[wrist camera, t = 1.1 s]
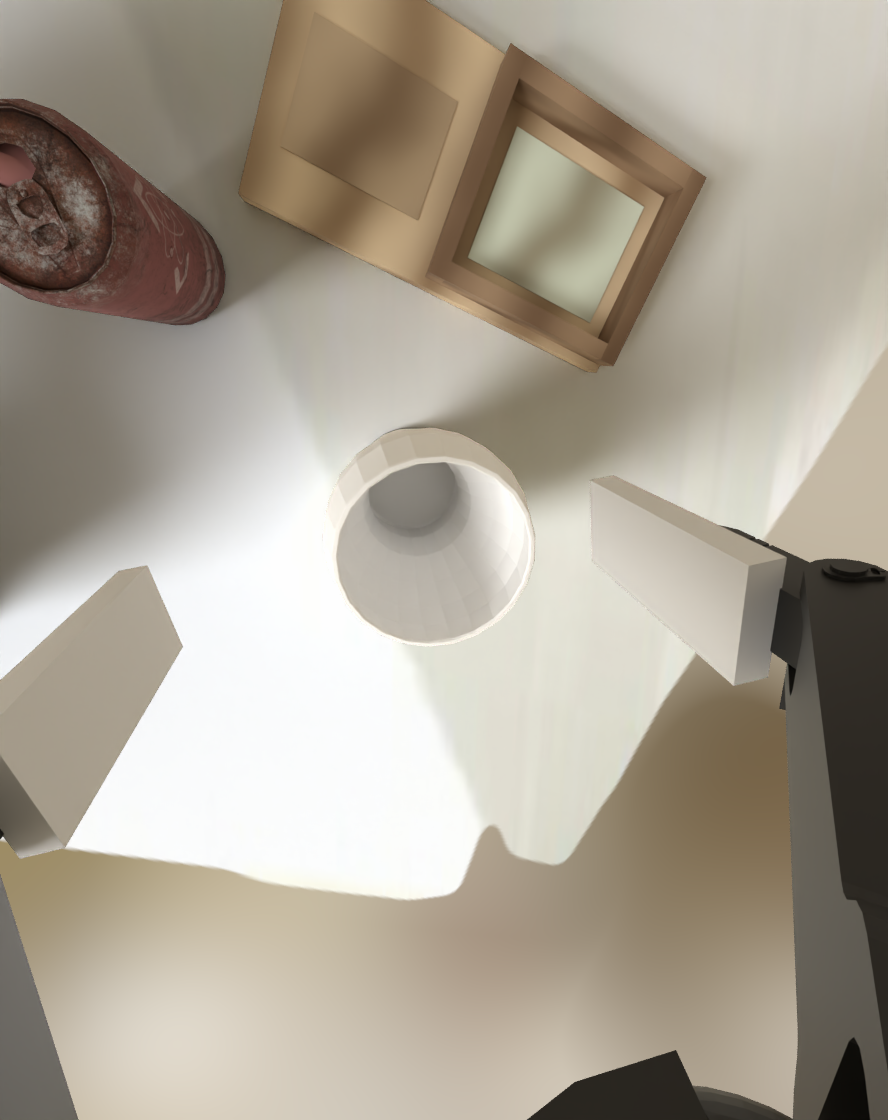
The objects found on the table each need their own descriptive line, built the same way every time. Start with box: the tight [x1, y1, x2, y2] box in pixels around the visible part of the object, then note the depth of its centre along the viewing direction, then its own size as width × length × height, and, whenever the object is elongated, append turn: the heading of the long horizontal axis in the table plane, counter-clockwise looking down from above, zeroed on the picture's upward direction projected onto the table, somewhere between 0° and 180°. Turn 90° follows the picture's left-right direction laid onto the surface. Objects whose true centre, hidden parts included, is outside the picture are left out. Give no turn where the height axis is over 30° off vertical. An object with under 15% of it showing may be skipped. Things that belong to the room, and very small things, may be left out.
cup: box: [322, 428, 535, 647], centre depth 29 cm, size 11×11×15 cm
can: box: [0, 99, 225, 325], centre depth 23 cm, size 6×6×14 cm
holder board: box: [238, 0, 706, 373], centre depth 28 cm, size 24×12×4 cm, turn 67°
